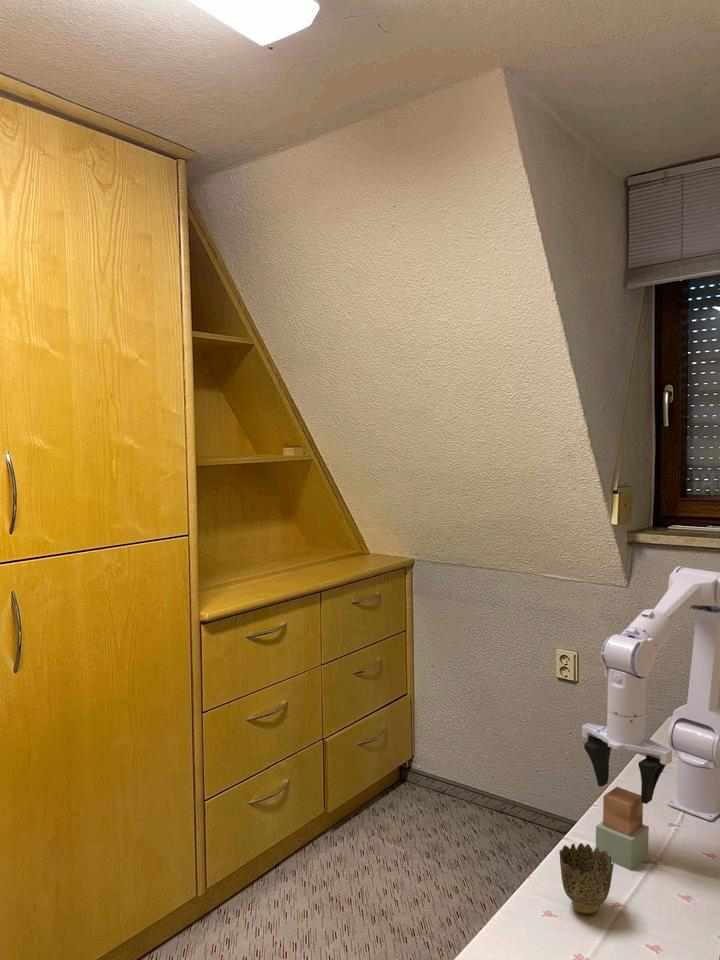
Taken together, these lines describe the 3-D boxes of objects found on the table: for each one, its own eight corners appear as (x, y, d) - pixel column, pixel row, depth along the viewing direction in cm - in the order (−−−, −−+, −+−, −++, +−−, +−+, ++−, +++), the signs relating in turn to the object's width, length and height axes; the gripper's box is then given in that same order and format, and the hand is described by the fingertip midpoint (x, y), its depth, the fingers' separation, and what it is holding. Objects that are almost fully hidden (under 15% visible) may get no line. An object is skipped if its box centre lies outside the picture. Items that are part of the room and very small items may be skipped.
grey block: (613, 841, 125) (614, 812, 125) (648, 856, 121) (648, 826, 120) (595, 855, 121) (596, 825, 120) (630, 871, 116) (631, 840, 116)
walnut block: (616, 815, 124) (617, 786, 123) (642, 826, 120) (643, 796, 120) (602, 825, 121) (603, 795, 120) (629, 836, 117) (629, 805, 117)
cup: (615, 930, 102) (616, 874, 102) (560, 923, 104) (561, 868, 103) (608, 897, 110) (609, 845, 109) (557, 891, 111) (558, 839, 111)
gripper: (572, 704, 122) (571, 784, 123) (658, 730, 111) (655, 818, 112) (595, 694, 127) (593, 771, 128) (679, 718, 116) (677, 802, 117)
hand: (624, 792), depth 120 cm, fingers open, 7 cm apart
